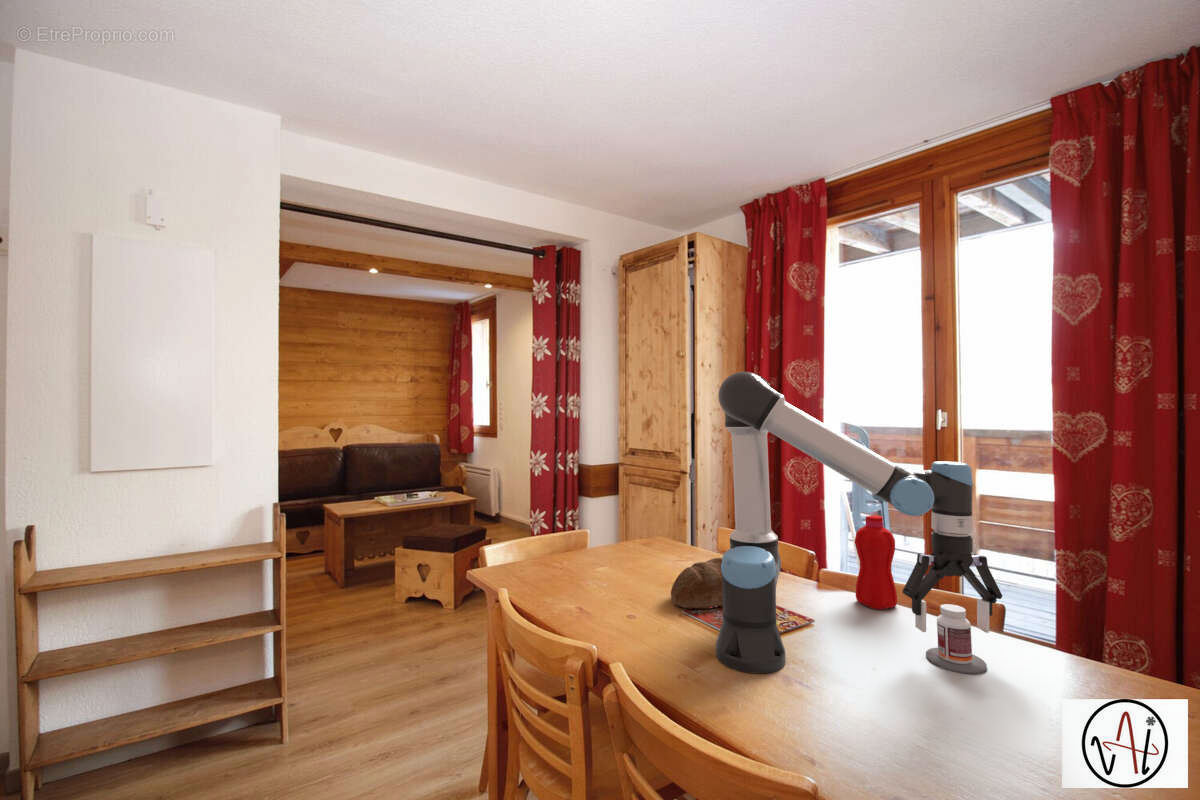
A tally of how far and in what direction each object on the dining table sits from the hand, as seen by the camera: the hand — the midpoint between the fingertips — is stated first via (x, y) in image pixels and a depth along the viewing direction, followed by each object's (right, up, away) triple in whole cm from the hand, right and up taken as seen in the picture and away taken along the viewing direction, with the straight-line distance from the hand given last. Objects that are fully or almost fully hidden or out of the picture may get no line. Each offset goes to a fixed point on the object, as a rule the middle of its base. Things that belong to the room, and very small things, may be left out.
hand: (951, 629), depth 116 cm
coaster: (+1, -7, 0) cm, 7 cm away
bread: (-43, -9, +41) cm, 60 cm away
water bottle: (+1, -8, +35) cm, 36 cm away
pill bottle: (0, -6, 0) cm, 6 cm away
